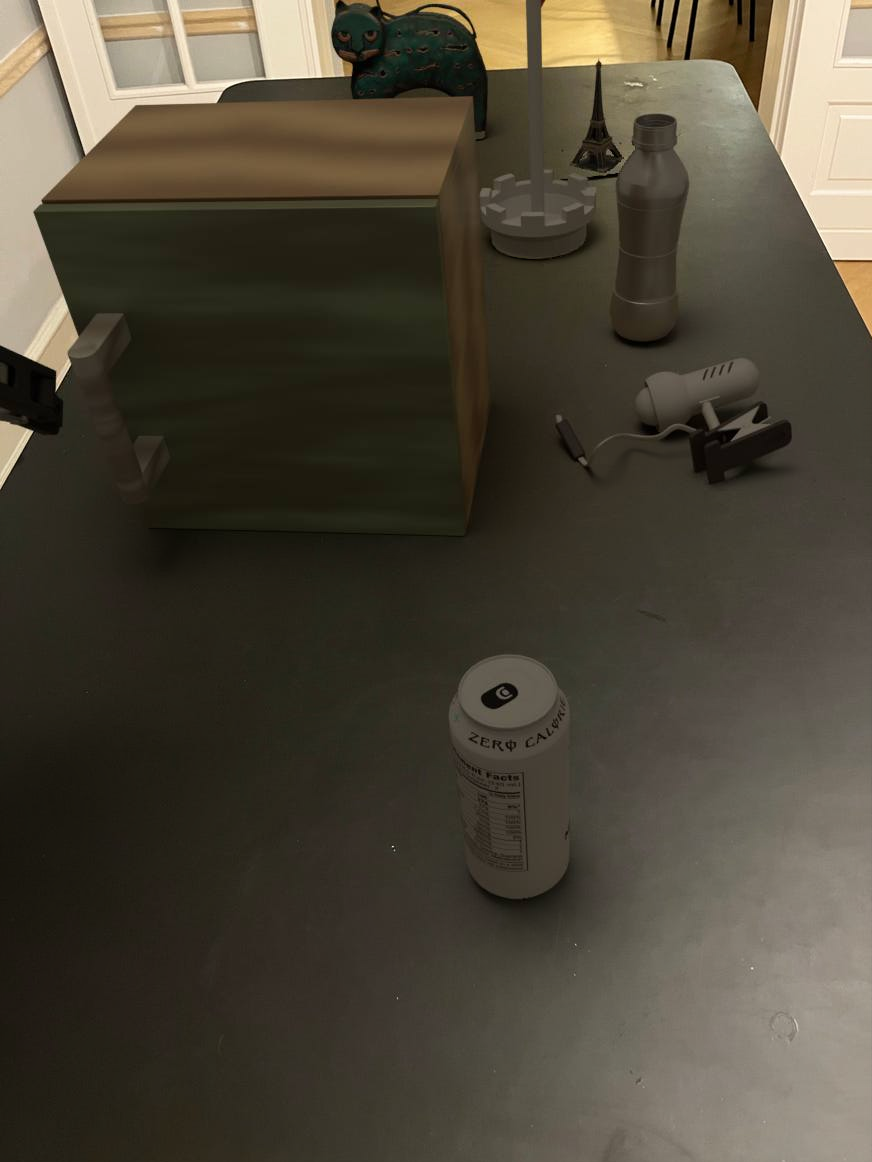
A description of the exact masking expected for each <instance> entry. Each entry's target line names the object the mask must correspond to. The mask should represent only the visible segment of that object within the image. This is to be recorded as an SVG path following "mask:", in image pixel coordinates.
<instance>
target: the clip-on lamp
mask: <svg viewBox="0 0 872 1162" xmlns="http://www.w3.org/2000/svg"><path fill="white" fill-rule="evenodd" d="M760 381H761V377H760V371H759V369H758V367H757V366H756V364H755V363H754V362H753V361H751V360H750V359H748V358H745V357H738V358H735V359H732V360H731V359H730V360H728V361H725V362H722V363H719V364H714V365H711V366H708V367H704V368H702V369H701V368H700V369H698V370H694V371H692V372H691V371H690V372H688V373H684V374H682V375H681V374H679V373H676V372H673V371H660V372H656V373H654V374H652V375H650V376H648V377H647V378H646V379H645V380H644V388H643V389H642V390H640V392H639V393H638V394H637V396H636V398H635V401H634V410H635V411H634V412H635V414H636V416H637V418H638V419H639V420H640V421H641V422H642V423H644V424H645V425H648V426H654V427H655V429H656V431H657V432H658V434H655V435H642V434H641V435H640V434H632V433H616V434H613V435H611V436H609V437H606V438H605V439H603V440H602V441H601V442H600V443H598V445H596V446H595V448H594V449H593V450H592V452H591V455H590V456H589V459H588V461H587V460H586V459H585V456H586V451H585V450H584V448H583V446H582V444H581V443H580V440H579V439H578V438H577V435H576V433H575V431H574V430H573V428H572V426H571V424H570V422H569V421H568V419H563V417H562V415H561V414H556V415H555V420H556V424H555V429H556V431H557V432H558V435H559V436H560V438H561V440H562V442H563V444H564V445H565V447H566V449H567V450H568V452H569V454H570V456H571V458H572V460H573V461H576V462H577V461H579V463H580V464H581V465H582V466H583V467H589V466H592V464H593V462H594V459H595V457H596V455H597V453H598V451H599V450H600V449H601V448H602V447H603V446H605V444H607V443H610V442H612V441H613V440H619V439H627V440H634V441H644V442H655V441H659V440H663V439H664V438H666V437H667V436H669V434H671V433H672V432H674V431H677V430H680V431H683V432H686V433H689V436H688V440H689V447H690V454H691V460H692V467H693V471H694V472H695V473H696V474H697V473H700V472H704V471H705V470H706V475H707V481H708V483H709V484H710V485H714V484H718V483H720V482H722V481H723V480H724V479H725V472H727V471H730V470H732V469H735V468H737V467H740V466H742V465H745V464H747V463H749V462H752V461H754V460H756V459H760V458H761V457H763V456H766V455H768V454H771V453H773V452H775V451H778V450H781V449H783V448H785V447H787V446H788V445H789V444H790V443H791V442H792V440H793V431H792V424H791V422H790V421H789V420H787V419H782V420H779V421H776V422H773V423H771V422H772V419H773V418H772V416H771V415H770V416H769V412H768V405H767V404H766V403H765V402H764V401H761V400H760V401H756V402H755V403H754V404H752V405H750V406H748V407H747V408H745V409H743V410H742V411H740V412H739V413H737V414H734V415H733V416H732V417H730V418H729V419H727V420H725V421H723V422H722V423H720V421H719V418H718V416H717V413H716V412H715V409H717V408H720V407H723V406H727V405H730V404H733V403H737V402H740V401H743V400H746V399H749V398H751V397H753V395H755V394H756V392H757V390H758V388H759V385H760ZM699 414H702V415H703V418H704V420H705V422H706V424H707V427H708V429H709V430H708V431H707V432H706V431H705V430H704V429H703V428H697V429H696V428H693V427H692V426H688V425H687V422H688V421H689V420H690V419H691V417H693V416H695V415H699Z"/></svg>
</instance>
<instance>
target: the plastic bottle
mask: <svg viewBox="0 0 872 1162" xmlns="http://www.w3.org/2000/svg"><path fill="white" fill-rule="evenodd" d="M677 129H678V121H677V118H676V117H675V116H673V115H670V114H667V113H647V114H646V113H645V114H642V115H639V116H637V117H635V118H634V120H633V128H632V136H631V141H632V145H633V146H635V150H634V151H633V152H632V154H631V155H630V156H629V157H628V159H627V160H626V162H625V163H624V165H623V166H622V168H621V170H620V171H619V174H617V176H616V180H615V200H616V209H617V221H618V242H619V243H618V261H617V267H616V275H615V282H614V283H615V284H614V287H613V291H612V293H611V299H610V305H609V316H610V317H609V318H610V323H611V326H612V327H613V329H614V330H615V332H616V333H617V335H619V336H620V337H622V338H624V339H626V340H629V341H633V342H652V341H658V340H660V339H663V338H664V337H665V338H666V337H667V336H668V334H669V333H670V332H671V331H672V330H673V329H674V328H675V326H676V323H677V319H678V315H679V309H680V307H679V293H678V288H677V254H678V247H679V244H678V243H679V240H680V235H681V234H680V233H681V232H680V231H681V226H682V221H683V218H684V213H685V209H686V205H687V202H688V201H687V200H688V196H689V190H690V178H689V173H688V171H687V167H685V164H684V162H683V161H682V160H681V157H680V156H679V155H678V154H677V152H676V151H675V148H674V147H675V146H676V145H677V144H678V135H677V131H678V130H677Z"/></svg>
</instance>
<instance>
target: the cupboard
mask: <svg viewBox="0 0 872 1162" xmlns="http://www.w3.org/2000/svg"><path fill="white" fill-rule="evenodd" d="M476 144H477V143H476V140H475V125H474V107H473V97H472V96H468V97H450V96H435V97H434V96H431V97H400V98H399V97H398V98H397V97H394V98H390V99H353V98H352V99H321V100H320V99H318V100H317V99H316V100H315V99H314V100H280V101H279V100H278V101H277V100H276V101H275V100H274V101H242V102H241V101H237V102H205V103H204V102H202V103H201V102H200V103H165V104H164V103H161V104H160V103H159V104H158V103H157V104H135V105H134V106H133V107H132V108H131V109H130V110H128V112H127V113H126V114H125V115H124V116H123V117H122V118H121V119H120V120H119V121H118V122H117V123H116V124H115V125H114V126H113V127H112V128H111V129H109V131H108V132H107V133H106V134H105V136H103V137H102V139H100V140H99V141H98V142H97V143H96V144H95V145H94V146H93V148H91V149H90V150H89V152H87V153H86V154H85V155H84V156H83V157H82V158H81V159H80V160H79V161H78V162H77V163H76V164H75V165H74V166H73V167H72V168H71V169H70V170H69V171H68V172H67V173H66V174H65V175H64V176H63V177H62V178H61V179H60V180H59V181H58V182H57V183H56V184H55V185H54V186H53V187H52V188H51V189H50V191H48V193H46V194H45V195H44V196H43V198H41V200H40V202H41V204H96V203H168V202H241V201H314V200H387V199H438V201H439V212H440V224H441V235H442V247H443V258H444V270H445V281H446V293H447V304H448V316H449V327H450V339H451V350H452V362H453V373H454V385H455V396H456V408H457V419H458V431H459V442H460V454H461V465H462V477H463V488H464V500H465V511H466V523H467V526H469V525H468V524H469V519H470V514H471V509H472V503H473V499H474V494H475V490H476V489H475V488H476V483H477V478H478V473H479V468H480V462H481V457H482V453H483V448H484V443H485V438H486V431H487V426H488V423H489V422H488V421H489V416H490V413H491V406H492V396H491V381H490V379H491V378H490V364H489V363H490V361H489V345H488V328H487V313H486V312H487V311H486V294H485V277H484V262H483V261H484V260H483V247H482V246H483V245H482V228H481V210H480V192H479V179H478V176H479V175H478V161H477V145H476Z"/></svg>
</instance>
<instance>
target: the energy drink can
mask: <svg viewBox="0 0 872 1162" xmlns="http://www.w3.org/2000/svg"><path fill="white" fill-rule="evenodd" d="M457 690H458V691H457V692H456V694H455V695H454V696H453V698H452V701H451V702H450V706H449V708H448V724H449V732H450V733H449V734H450V740H451V741H450V742H451V747H452V755H453V756H452V758H453V764H454V766H453V767H454V772H455V773H454V774H455V780H456V788H457V789H456V790H457V797H458V804H459V813H460V821H461V828H462V829H461V830H462V836H463V837H462V839H463V845H464V846H463V847H464V852H465V859H466V860H465V861H466V866H467V869H468V871H469V873H470V875H471V877H472V878H473V879H474V881H475V882H476V883H477V884H478V885H479V886H480V887H481V888H483V889H485V890H486V891H487V892H488V893H490V894H493V895H495V896H498V897H500V898H501V897H502V898H505V899H510V900H523V898H525V899H530V898H533V897H536V896H539V895H542V894H543V893H546V892H547V891H549V890H551V889H552V888H553V887H554V886H555V885H557V884H558V883H559V882H560V880H561V879H562V878H563V876H564V875H565V873H566V871H567V869H568V866H569V862H570V857H571V856H570V854H571V853H570V852H571V851H570V849H571V847H570V845H571V844H570V843H571V842H570V839H571V838H570V836H571V835H570V833H571V829H570V828H571V827H570V825H571V823H570V821H571V820H570V819H571V815H570V814H571V813H570V812H571V811H570V809H571V804H570V802H571V795H570V794H571V793H570V792H571V791H570V789H571V786H570V785H571V784H570V783H571V779H570V778H571V769H570V768H571V761H570V760H571V753H570V752H571V729H570V728H571V720H570V719H571V709H570V704H569V701H568V699H567V696H566V695H565V693H564V692H563V690H562V689H561V687H559V686H558V685H557V680H556V678H555V677H554V675H553V673H552V672H551V671H550V669H549V668H548V667H547V666H546V665H544V664H543V663H541V662H540V661H538V660H536V659H534V658H532V657H528V656H525V655H520V654H499V655H494V656H490V657H487V658H484V659H483V660H480V661H478V662H477V663H475V664H474V665H472V666H471V667H470V668H469V669H468V670H467V671H466V672H465V673H464V674H463V676H462V678H461V680H460V681H459V684H458V688H457ZM529 897H530V898H529Z"/></svg>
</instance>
